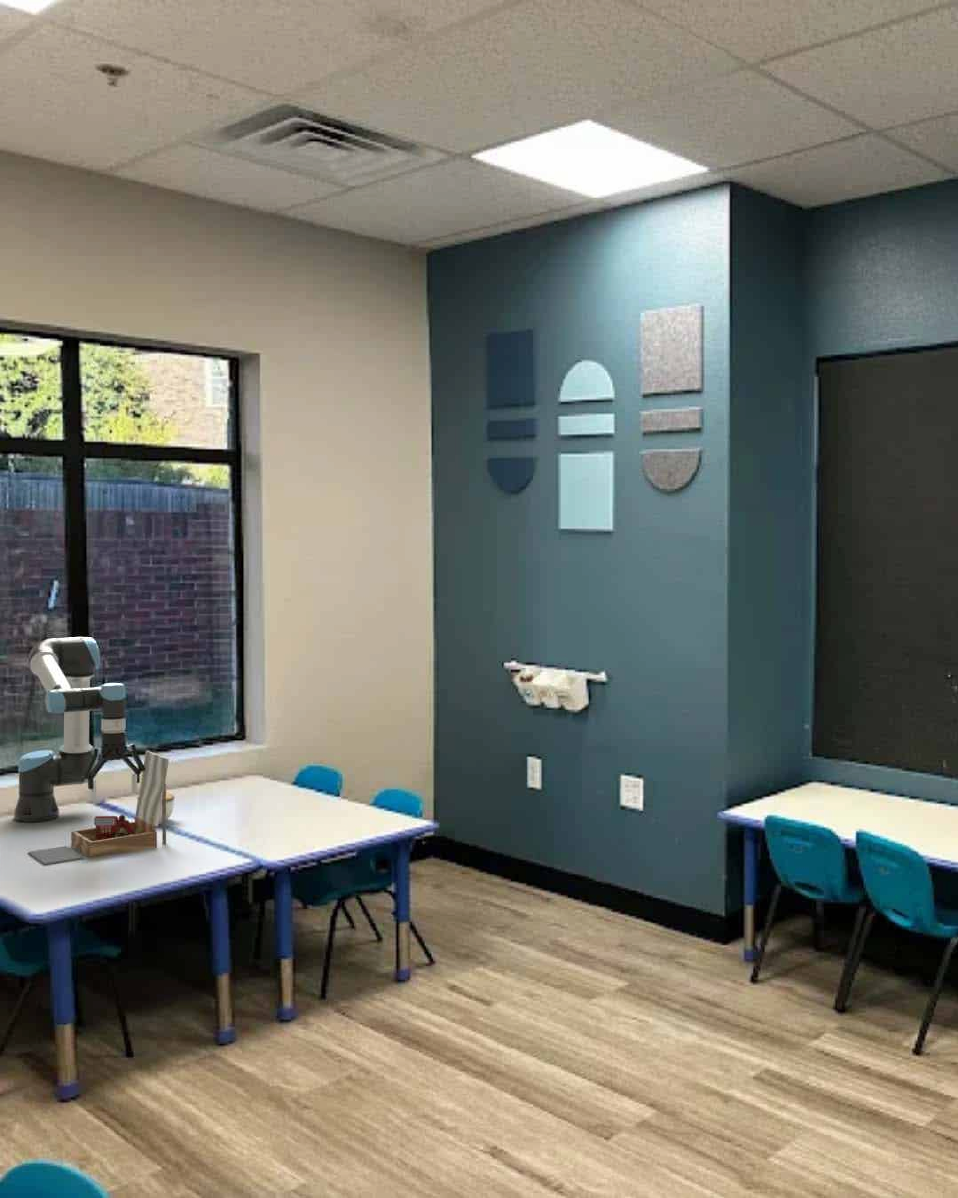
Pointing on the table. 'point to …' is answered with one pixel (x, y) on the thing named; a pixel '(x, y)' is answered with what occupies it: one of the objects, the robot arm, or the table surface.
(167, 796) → the lidded bowl
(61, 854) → the mat
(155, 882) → the table surface
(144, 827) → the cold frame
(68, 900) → the table surface
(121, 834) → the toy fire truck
